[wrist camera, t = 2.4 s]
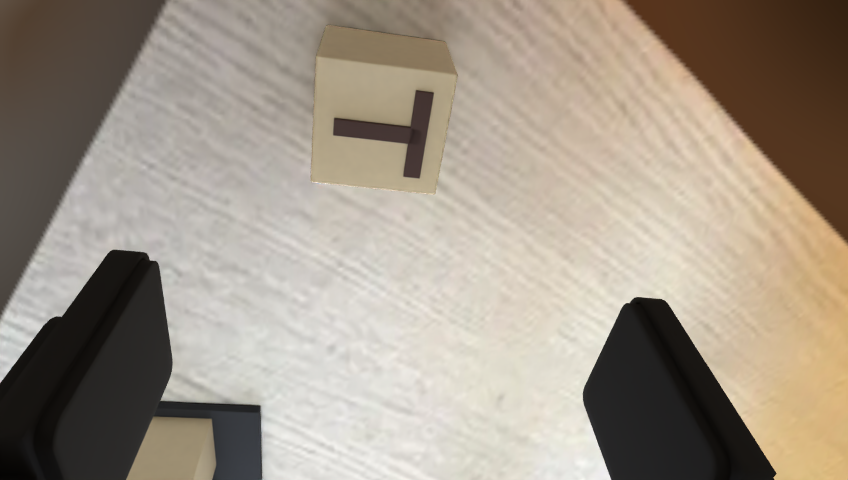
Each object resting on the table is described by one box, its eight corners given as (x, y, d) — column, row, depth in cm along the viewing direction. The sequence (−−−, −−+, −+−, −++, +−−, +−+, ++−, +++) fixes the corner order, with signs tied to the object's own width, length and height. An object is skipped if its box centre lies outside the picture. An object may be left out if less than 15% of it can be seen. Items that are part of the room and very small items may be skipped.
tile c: (139, 462, 34) (113, 528, 31) (128, 415, 31) (98, 481, 28) (216, 464, 35) (198, 529, 31) (211, 418, 32) (192, 484, 29)
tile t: (320, 137, 23) (309, 184, 20) (326, 24, 20) (315, 56, 17) (427, 149, 24) (435, 197, 20) (446, 41, 21) (458, 75, 18)
